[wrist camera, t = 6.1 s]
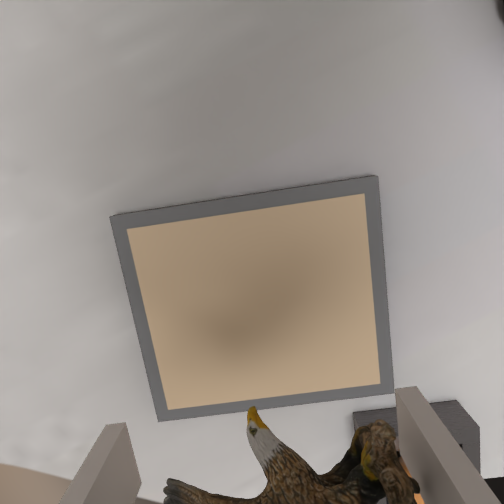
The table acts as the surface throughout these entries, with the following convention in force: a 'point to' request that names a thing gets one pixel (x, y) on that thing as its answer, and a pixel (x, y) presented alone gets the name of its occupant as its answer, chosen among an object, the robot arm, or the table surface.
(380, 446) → the eagle figurine
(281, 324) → the board
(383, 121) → the table surface
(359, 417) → the button housing
